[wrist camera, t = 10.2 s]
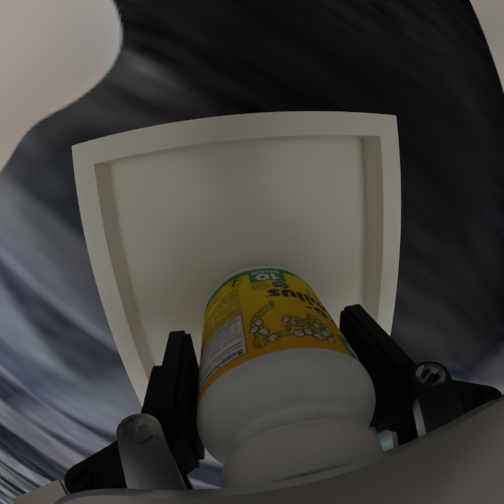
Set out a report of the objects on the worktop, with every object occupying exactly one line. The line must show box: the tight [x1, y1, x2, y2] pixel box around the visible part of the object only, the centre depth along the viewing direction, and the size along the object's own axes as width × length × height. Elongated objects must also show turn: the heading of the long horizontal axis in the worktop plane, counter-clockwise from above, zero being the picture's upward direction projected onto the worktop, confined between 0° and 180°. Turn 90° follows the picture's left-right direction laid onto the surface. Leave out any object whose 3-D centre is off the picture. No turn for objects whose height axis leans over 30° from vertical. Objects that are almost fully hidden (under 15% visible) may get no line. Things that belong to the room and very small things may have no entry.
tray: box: [72, 111, 401, 448], centre depth 14 cm, size 18×14×2 cm
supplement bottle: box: [196, 266, 384, 488], centre depth 9 cm, size 5×5×10 cm
